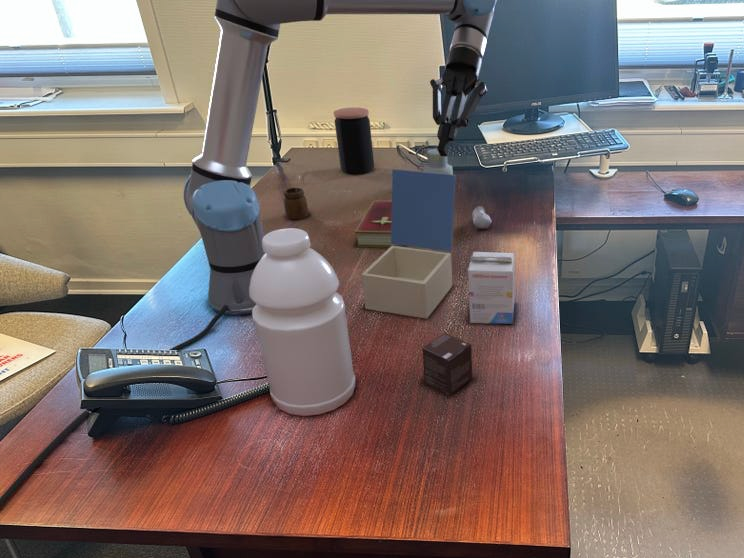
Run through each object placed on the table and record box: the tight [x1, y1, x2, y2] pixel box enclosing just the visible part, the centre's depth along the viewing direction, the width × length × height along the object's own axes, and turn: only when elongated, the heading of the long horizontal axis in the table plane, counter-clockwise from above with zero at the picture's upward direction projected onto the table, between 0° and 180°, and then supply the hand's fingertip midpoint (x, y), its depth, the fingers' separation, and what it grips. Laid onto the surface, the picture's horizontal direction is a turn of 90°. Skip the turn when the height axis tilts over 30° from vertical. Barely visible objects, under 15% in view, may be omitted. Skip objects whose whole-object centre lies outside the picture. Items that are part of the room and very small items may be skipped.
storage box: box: [360, 246, 453, 320], centre depth 133 cm, size 15×14×8 cm
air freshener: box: [422, 148, 454, 175], centre depth 191 cm, size 11×8×10 cm
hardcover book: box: [354, 200, 406, 248], centre depth 164 cm, size 12×21×4 cm, turn 175°
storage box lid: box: [391, 168, 457, 252], centre depth 134 cm, size 15×14×1 cm
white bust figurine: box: [471, 205, 492, 230], centre depth 167 cm, size 4×8×5 cm
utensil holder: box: [276, 172, 309, 220], centre depth 171 cm, size 6×6×12 cm
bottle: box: [249, 227, 356, 417], centre depth 101 cm, size 14×14×28 cm
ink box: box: [467, 251, 516, 325], centre depth 126 cm, size 9×8×13 cm
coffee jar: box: [333, 107, 375, 176], centre depth 201 cm, size 11×11×18 cm
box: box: [421, 332, 473, 395], centre depth 109 cm, size 6×6×7 cm
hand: (442, 153), depth 139 cm, fingers closed
